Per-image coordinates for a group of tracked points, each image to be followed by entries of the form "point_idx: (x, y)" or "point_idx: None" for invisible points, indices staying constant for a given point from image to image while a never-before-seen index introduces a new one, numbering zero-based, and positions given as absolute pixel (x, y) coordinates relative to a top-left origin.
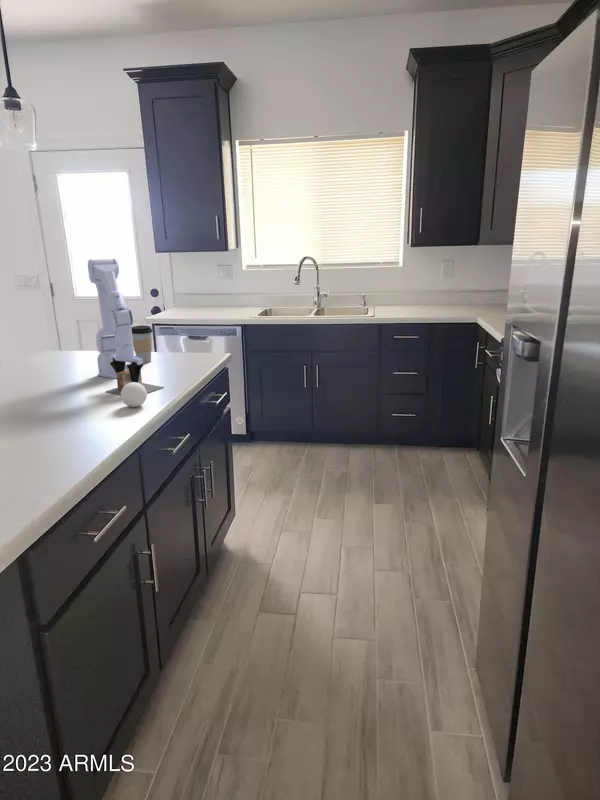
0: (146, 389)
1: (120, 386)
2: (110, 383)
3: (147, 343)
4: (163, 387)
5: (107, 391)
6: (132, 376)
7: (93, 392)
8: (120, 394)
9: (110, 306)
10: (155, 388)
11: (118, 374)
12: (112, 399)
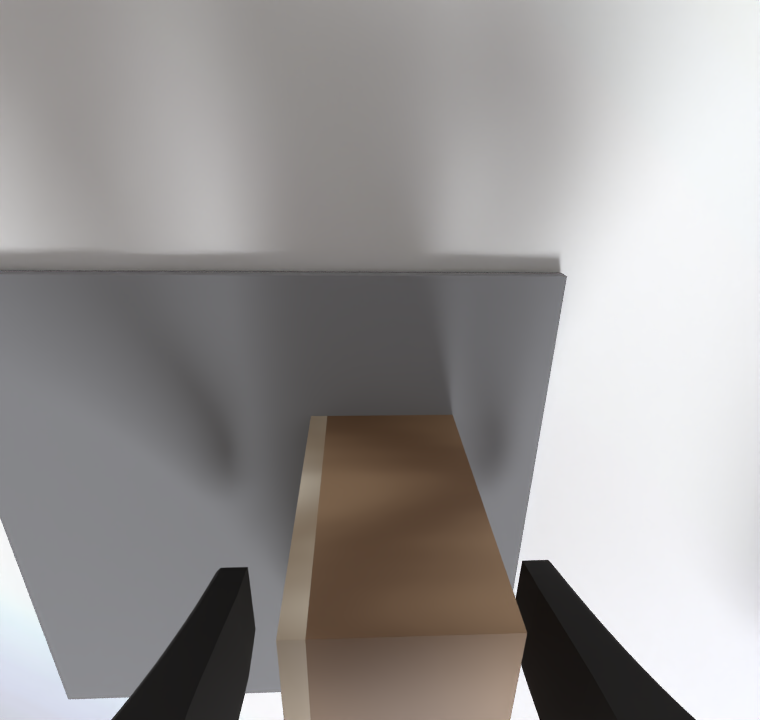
0: (140, 577)
1: (400, 448)
2: (755, 545)
3: None
4: (67, 692)
5: (532, 284)
6: (144, 678)
7: (739, 163)
8: (224, 274)
9: None
10: (91, 639)
11: (446, 617)
12: (133, 27)
